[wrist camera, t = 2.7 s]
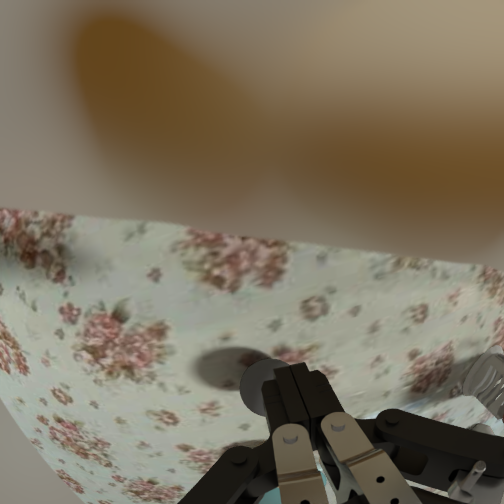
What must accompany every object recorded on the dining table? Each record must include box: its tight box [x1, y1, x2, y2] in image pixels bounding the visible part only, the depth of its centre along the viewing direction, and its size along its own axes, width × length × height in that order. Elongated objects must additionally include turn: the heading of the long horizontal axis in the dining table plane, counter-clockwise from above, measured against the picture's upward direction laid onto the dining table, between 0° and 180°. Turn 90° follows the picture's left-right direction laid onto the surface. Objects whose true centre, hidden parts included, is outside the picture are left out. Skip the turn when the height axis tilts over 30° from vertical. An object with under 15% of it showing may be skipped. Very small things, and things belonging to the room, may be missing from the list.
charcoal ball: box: [240, 359, 289, 417], centre depth 26 cm, size 6×6×6 cm
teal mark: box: [259, 472, 326, 504], centre depth 36 cm, size 14×14×1 cm
